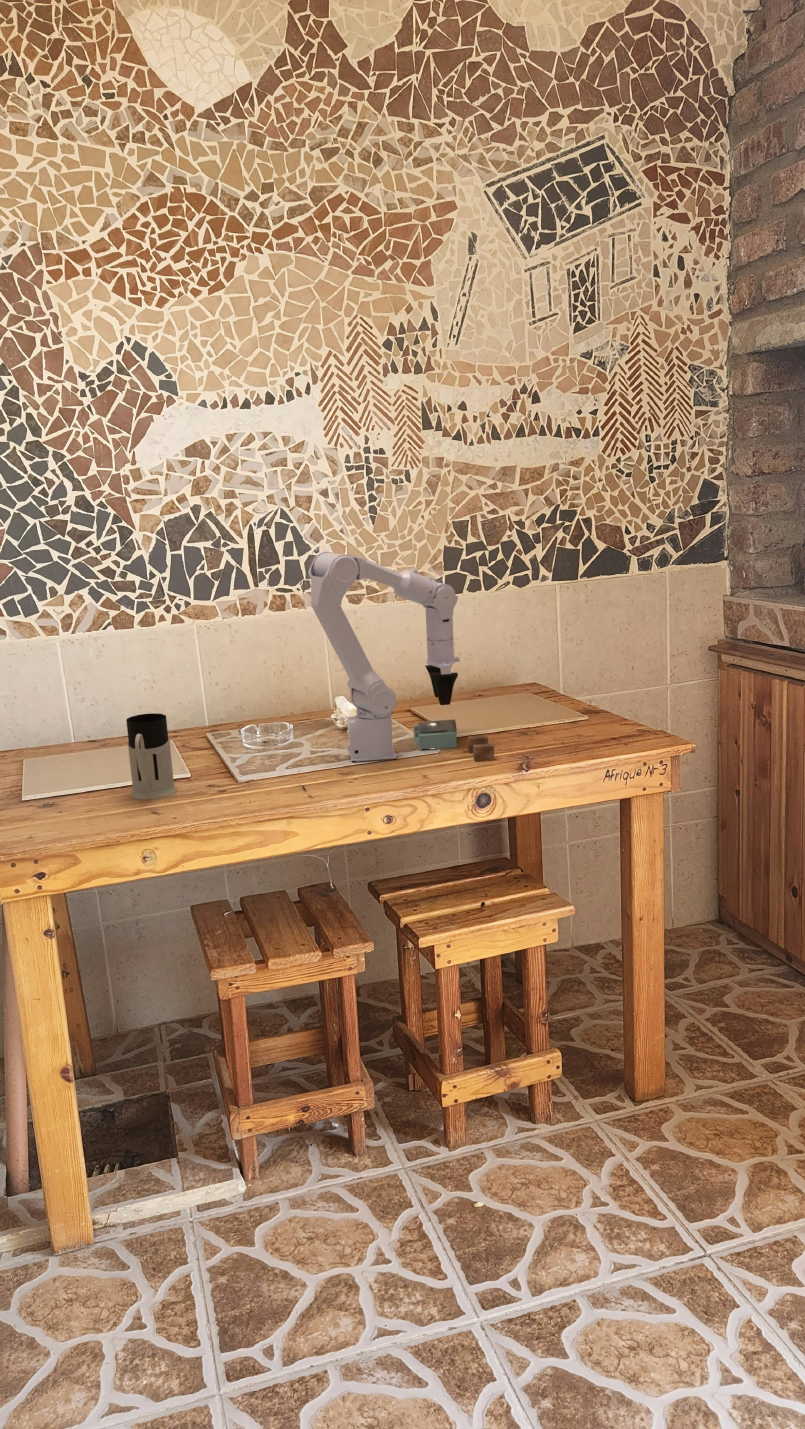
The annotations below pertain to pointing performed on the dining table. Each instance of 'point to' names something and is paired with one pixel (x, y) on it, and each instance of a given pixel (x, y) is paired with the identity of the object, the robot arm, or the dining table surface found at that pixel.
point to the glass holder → (150, 757)
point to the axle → (437, 726)
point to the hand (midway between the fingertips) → (442, 700)
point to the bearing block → (480, 748)
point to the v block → (435, 740)
